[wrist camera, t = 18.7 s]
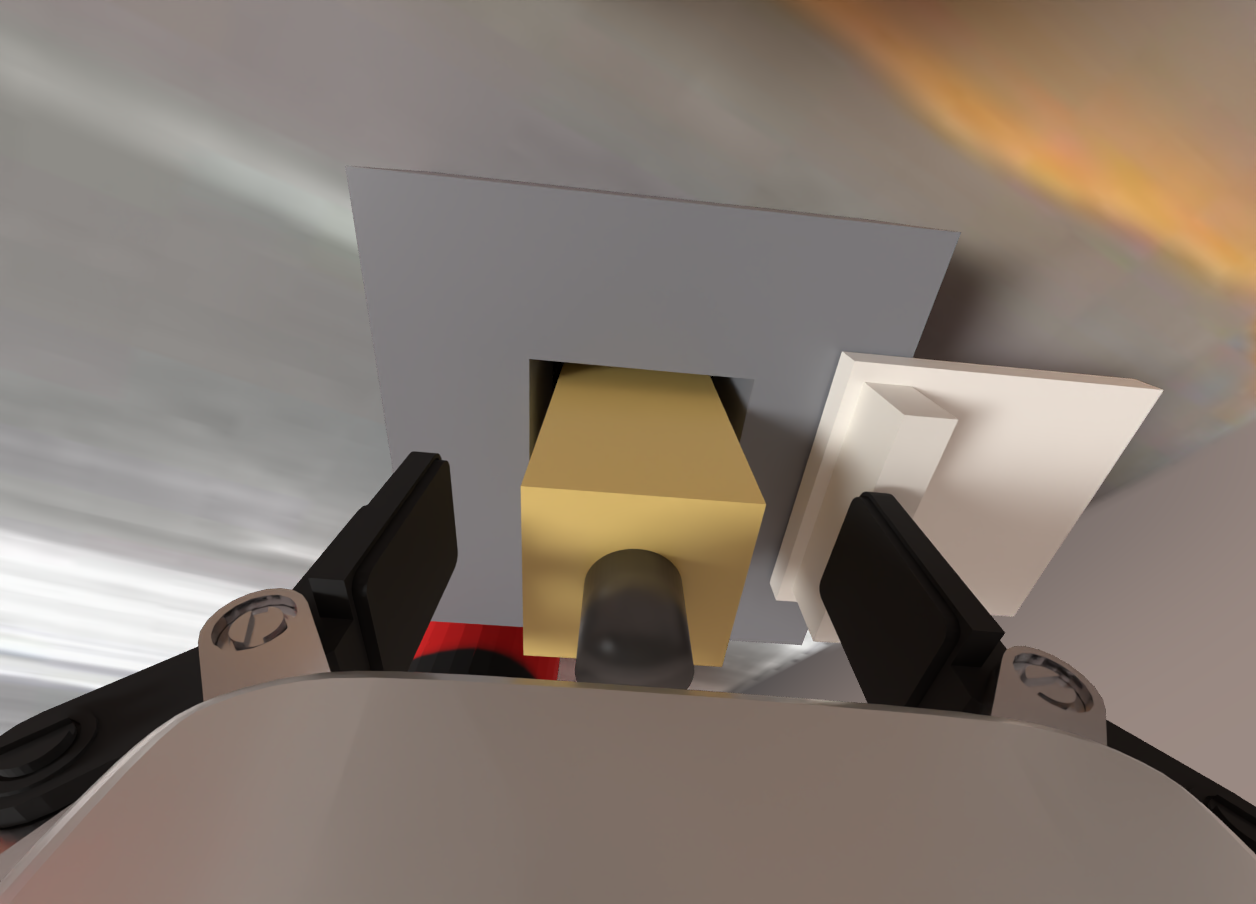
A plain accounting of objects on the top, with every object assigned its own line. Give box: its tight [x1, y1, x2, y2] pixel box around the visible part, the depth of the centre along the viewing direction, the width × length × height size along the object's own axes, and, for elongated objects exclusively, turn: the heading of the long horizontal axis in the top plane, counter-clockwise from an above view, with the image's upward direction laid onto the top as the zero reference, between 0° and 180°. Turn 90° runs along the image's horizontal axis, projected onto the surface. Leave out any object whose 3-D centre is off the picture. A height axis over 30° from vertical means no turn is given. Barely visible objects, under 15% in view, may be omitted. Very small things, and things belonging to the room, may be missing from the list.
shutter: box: [770, 351, 1163, 643], centre depth 13 cm, size 8×8×3 cm
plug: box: [521, 362, 766, 690], centre depth 13 cm, size 4×4×12 cm
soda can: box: [407, 621, 560, 681], centre depth 20 cm, size 8×8×12 cm
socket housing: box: [345, 166, 961, 645], centre depth 17 cm, size 14×14×5 cm
